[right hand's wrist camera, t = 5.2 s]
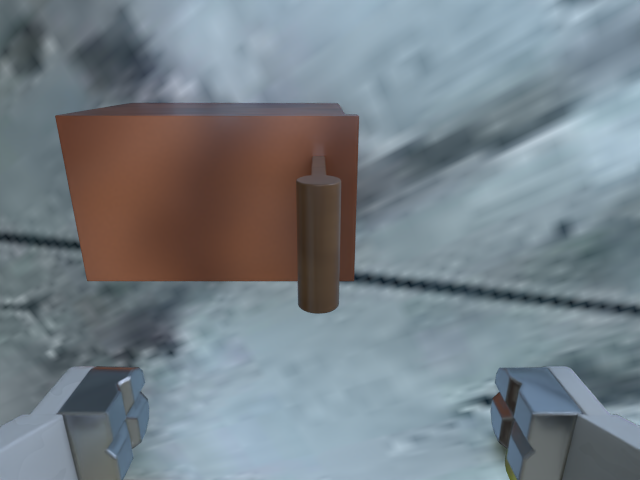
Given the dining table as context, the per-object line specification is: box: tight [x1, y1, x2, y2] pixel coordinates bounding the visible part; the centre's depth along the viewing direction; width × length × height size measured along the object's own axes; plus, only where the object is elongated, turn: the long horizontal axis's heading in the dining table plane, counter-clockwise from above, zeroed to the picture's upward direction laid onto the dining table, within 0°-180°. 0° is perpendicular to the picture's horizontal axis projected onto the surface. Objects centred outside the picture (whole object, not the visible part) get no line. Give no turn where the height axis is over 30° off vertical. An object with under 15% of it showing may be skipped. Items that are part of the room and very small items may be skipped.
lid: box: [55, 114, 359, 313], centre depth 22 cm, size 16×10×8 cm, turn 90°
